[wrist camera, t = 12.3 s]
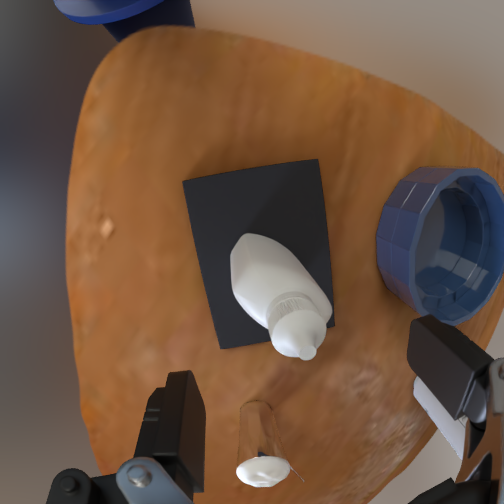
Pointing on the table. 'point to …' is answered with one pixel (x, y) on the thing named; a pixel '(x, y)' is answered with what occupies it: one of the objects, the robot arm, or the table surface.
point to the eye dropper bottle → (279, 295)
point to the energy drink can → (441, 417)
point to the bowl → (443, 241)
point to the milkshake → (260, 447)
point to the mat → (257, 222)
